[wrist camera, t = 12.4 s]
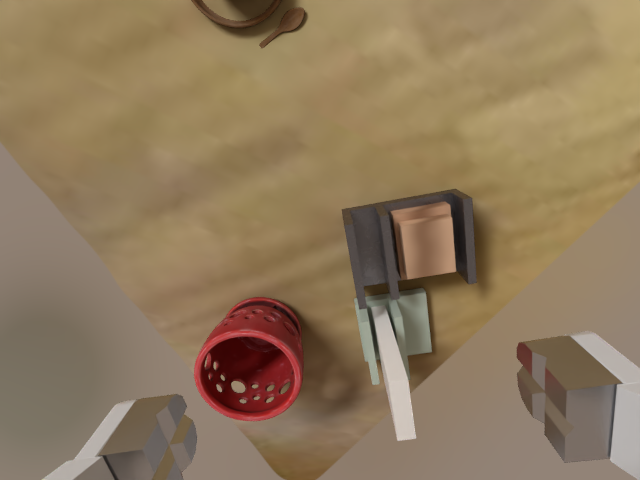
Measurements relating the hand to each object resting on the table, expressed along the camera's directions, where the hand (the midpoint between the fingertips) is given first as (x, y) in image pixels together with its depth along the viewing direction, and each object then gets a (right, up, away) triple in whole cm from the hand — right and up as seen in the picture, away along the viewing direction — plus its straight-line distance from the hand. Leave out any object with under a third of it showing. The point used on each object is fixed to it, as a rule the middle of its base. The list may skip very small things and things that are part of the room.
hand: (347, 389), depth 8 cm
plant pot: (-9, -9, +45) cm, 47 cm away
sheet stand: (+10, -9, +44) cm, 46 cm away
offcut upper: (+13, +3, +36) cm, 38 cm away
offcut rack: (+11, +4, +40) cm, 41 cm away
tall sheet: (+8, -9, +43) cm, 44 cm away
